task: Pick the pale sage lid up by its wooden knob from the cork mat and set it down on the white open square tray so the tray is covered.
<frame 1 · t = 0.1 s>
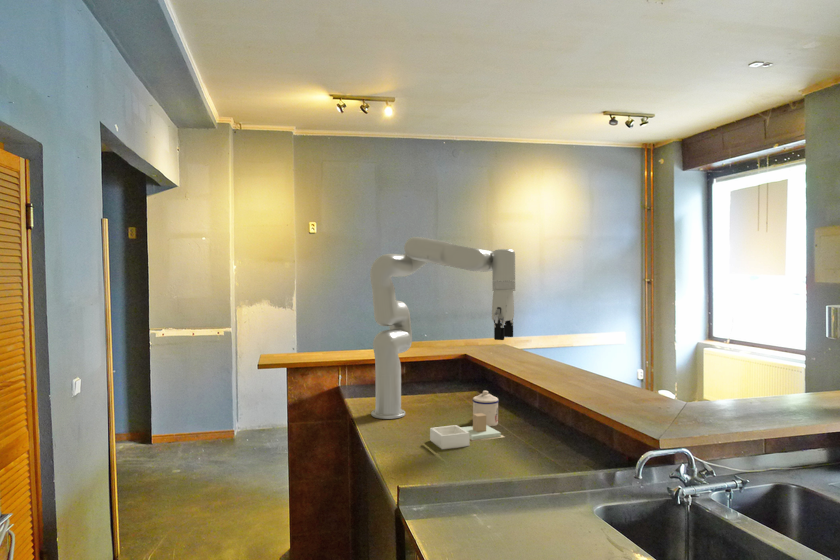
hand: (504, 338, 170), 31 cm above the counter, tool pointing down, fingers open, 9 cm apart
lid: (479, 433, 166), point 1 cm above the counter, touching mat
white open square tray: (449, 445, 157), on the counter
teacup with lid: (484, 423, 181), on the counter
mat: (479, 435, 166), on the counter
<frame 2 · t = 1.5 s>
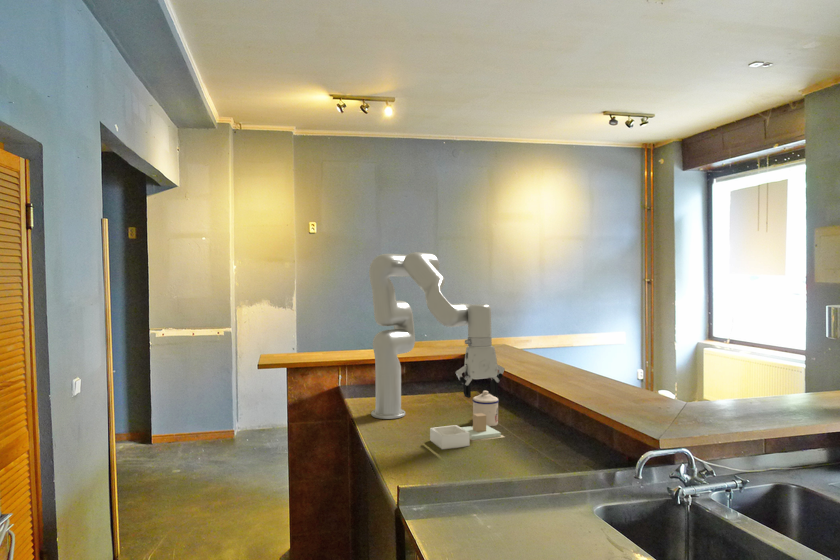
hand: (480, 395, 166), 13 cm above the counter, tool pointing down, fingers open, 9 cm apart
nothing on the counter moved.
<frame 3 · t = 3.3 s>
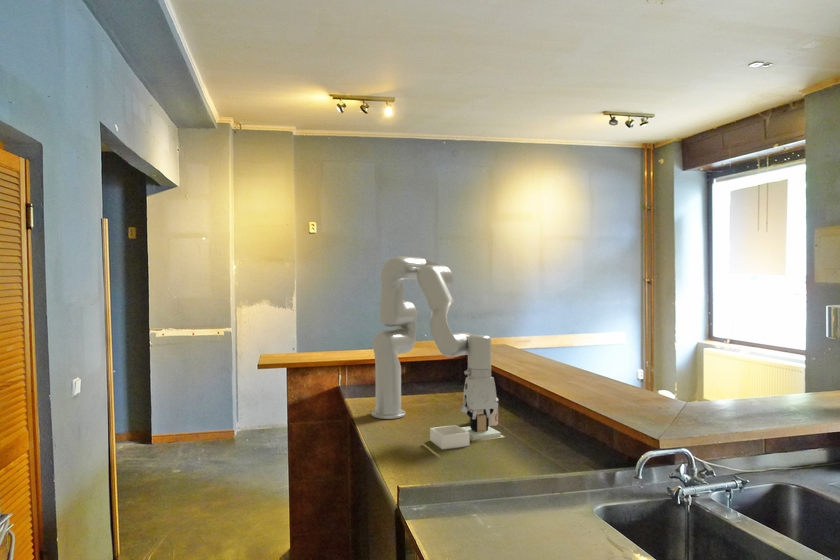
hand: (479, 429, 166), 2 cm above the counter, tool pointing down, fingers closed on lid, 3 cm apart
lid: (479, 433, 166), point 1 cm above the counter, touching gripper, mat
everything else where it was.
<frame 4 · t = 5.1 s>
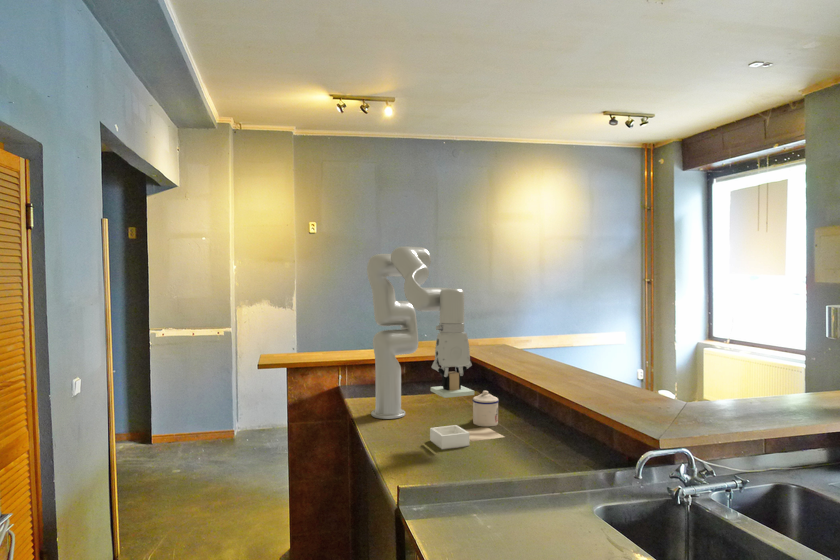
hand: (451, 388, 158), 17 cm above the counter, tool pointing down, fingers closed on lid, 3 cm apart
lid: (452, 392, 157), point 16 cm above the counter, touching gripper
everything else where it was.
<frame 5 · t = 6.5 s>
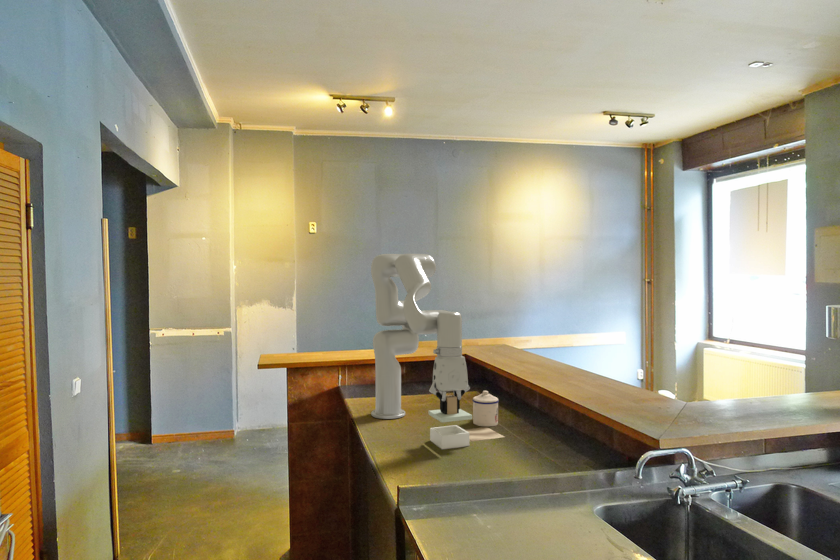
hand: (449, 412, 157), 10 cm above the counter, tool pointing down, fingers closed on lid, 3 cm apart
lid: (450, 416, 157), point 9 cm above the counter, touching gripper
everything else where it was.
when the fingers open (7 cm above the counter, at t = 7.3 s): lid drops 1 cm, resting on white open square tray.
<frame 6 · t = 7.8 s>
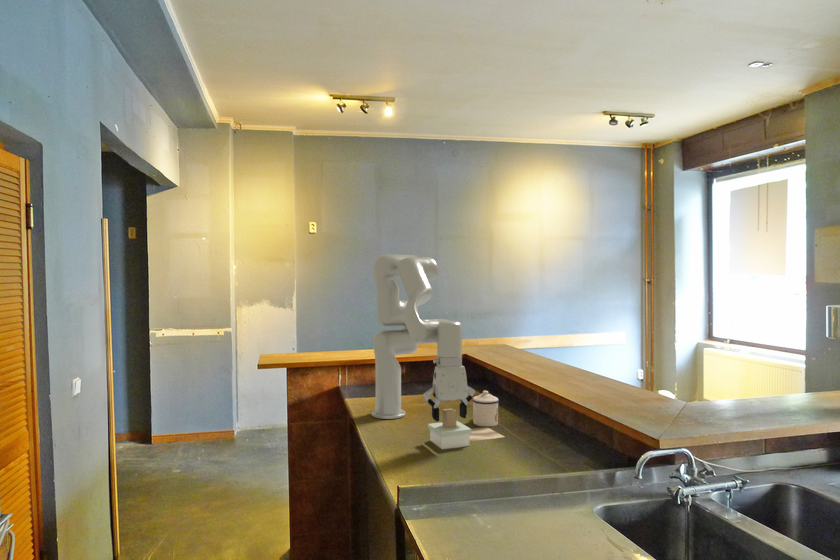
hand: (449, 418, 157), 8 cm above the counter, tool pointing down, fingers open, 8 cm apart
lid: (449, 430, 157), point 4 cm above the counter, touching white open square tray
everything else where it was.
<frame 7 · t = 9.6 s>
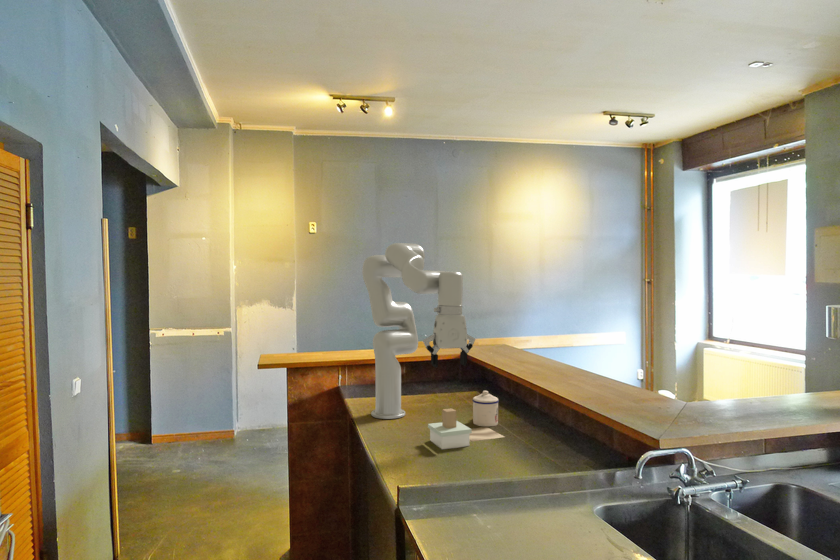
hand: (449, 365, 161), 24 cm above the counter, tool pointing down, fingers open, 9 cm apart
nothing on the counter moved.
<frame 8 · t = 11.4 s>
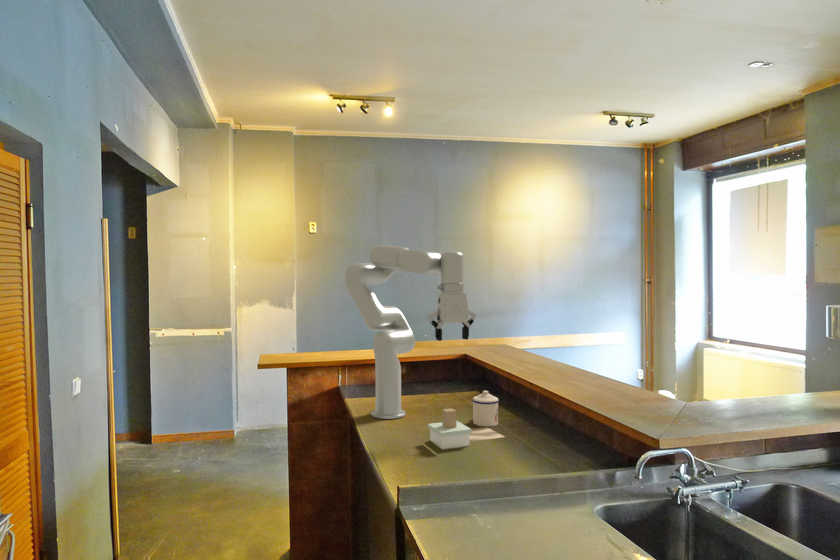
hand: (452, 339, 173), 30 cm above the counter, tool pointing down, fingers open, 9 cm apart
nothing on the counter moved.
at the end: lid 0.1 cm off-centre on the white open square tray, point 4.5 cm above the white open square tray's base; lid tilted 0°; the gripper is holding nothing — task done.
